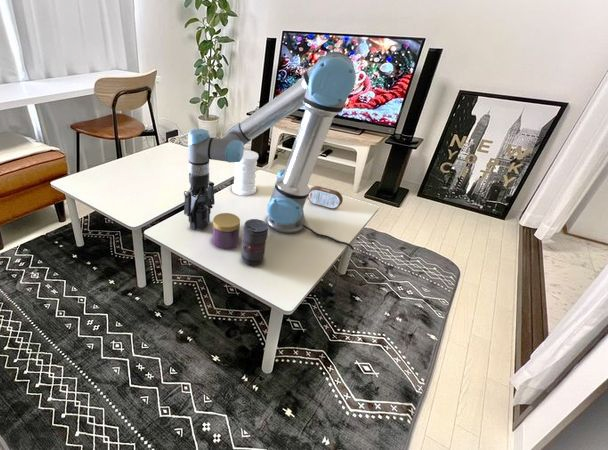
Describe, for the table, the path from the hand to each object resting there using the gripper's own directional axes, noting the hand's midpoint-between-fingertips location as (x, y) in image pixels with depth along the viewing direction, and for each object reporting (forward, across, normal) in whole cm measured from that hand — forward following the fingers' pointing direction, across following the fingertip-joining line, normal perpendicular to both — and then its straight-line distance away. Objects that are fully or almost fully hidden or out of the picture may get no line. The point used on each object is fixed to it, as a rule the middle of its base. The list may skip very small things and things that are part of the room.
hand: (200, 224), depth 138 cm
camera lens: (+1, +2, +29) cm, 29 cm away
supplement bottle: (+1, 0, 0) cm, 1 cm away
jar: (+1, 0, +15) cm, 15 cm away
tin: (+1, -51, +26) cm, 57 cm away
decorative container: (+1, -37, -9) cm, 38 cm away
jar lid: (-8, 0, +15) cm, 17 cm away
